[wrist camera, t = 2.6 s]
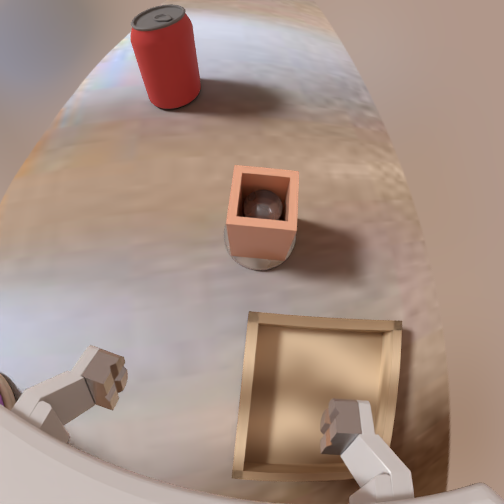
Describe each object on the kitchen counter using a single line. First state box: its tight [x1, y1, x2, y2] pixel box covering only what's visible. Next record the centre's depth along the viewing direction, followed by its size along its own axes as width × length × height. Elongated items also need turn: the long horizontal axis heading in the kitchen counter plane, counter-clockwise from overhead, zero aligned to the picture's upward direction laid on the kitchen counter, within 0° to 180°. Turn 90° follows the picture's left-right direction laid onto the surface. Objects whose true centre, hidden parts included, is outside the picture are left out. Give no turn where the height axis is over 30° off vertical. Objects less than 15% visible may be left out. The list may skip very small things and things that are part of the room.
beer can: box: [131, 5, 201, 109], centre depth 28 cm, size 7×7×12 cm
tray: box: [232, 311, 402, 482], centre depth 22 cm, size 14×13×3 cm
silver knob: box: [224, 190, 296, 270], centre depth 25 cm, size 6×6×6 cm
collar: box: [226, 165, 299, 261], centre depth 24 cm, size 5×5×7 cm
